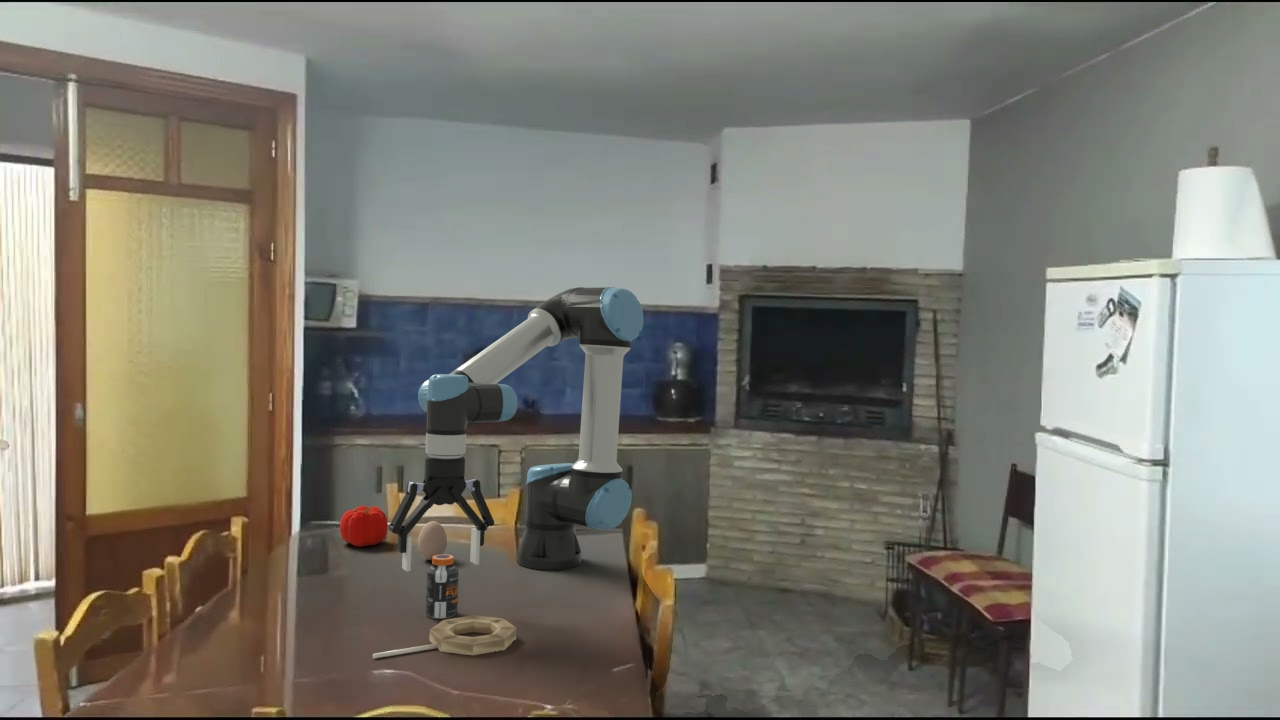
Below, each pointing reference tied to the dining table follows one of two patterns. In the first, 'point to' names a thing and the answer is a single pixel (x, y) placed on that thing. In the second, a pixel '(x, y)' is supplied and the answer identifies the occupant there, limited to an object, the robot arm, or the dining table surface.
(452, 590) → the pill bottle
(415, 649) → the white thin rod
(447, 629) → the beige flat ring
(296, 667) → the dining table surface
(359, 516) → the tomato
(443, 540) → the egg
